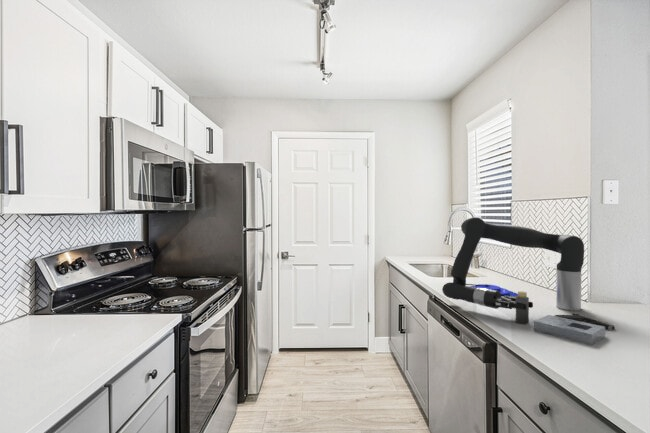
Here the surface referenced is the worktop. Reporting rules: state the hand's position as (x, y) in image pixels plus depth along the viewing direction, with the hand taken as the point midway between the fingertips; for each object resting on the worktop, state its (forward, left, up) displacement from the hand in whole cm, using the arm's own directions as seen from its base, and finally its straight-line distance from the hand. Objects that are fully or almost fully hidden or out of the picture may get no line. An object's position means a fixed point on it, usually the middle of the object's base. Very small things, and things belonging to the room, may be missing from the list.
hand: (529, 306), depth 137 cm
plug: (0, -3, -7) cm, 8 cm away
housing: (0, +13, -7) cm, 15 cm away
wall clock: (-36, -37, -8) cm, 52 cm away
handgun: (-17, +13, -8) cm, 23 cm away
